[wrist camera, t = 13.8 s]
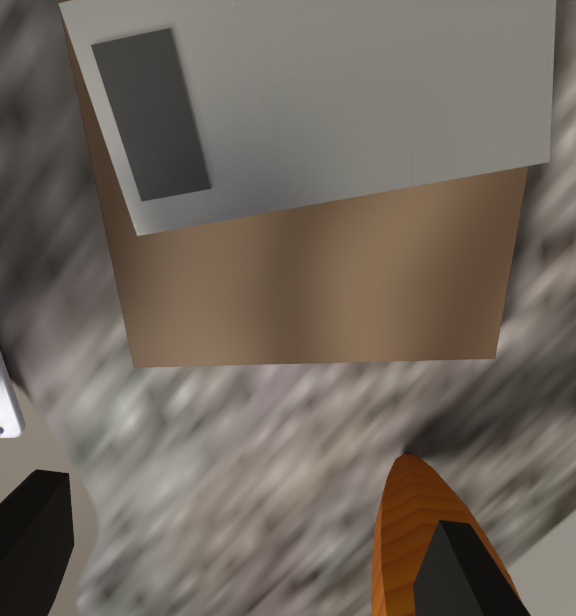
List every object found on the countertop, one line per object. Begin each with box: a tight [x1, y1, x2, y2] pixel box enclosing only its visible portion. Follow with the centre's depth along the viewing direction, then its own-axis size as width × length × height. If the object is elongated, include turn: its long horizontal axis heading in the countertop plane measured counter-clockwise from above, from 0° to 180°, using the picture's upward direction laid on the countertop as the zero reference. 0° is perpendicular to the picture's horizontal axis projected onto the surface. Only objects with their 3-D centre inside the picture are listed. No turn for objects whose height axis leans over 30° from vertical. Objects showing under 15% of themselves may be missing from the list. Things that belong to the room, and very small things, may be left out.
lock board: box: [58, 0, 557, 368], centre depth 15 cm, size 13×20×2 cm, turn 2°
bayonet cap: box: [58, 0, 556, 236], centre depth 11 cm, size 6×7×7 cm
